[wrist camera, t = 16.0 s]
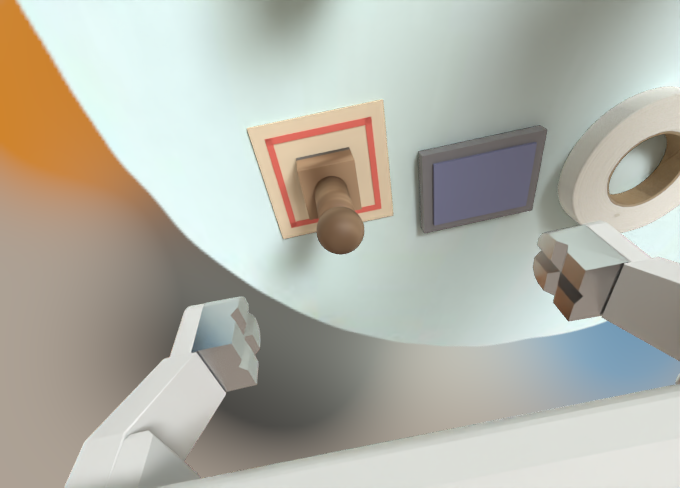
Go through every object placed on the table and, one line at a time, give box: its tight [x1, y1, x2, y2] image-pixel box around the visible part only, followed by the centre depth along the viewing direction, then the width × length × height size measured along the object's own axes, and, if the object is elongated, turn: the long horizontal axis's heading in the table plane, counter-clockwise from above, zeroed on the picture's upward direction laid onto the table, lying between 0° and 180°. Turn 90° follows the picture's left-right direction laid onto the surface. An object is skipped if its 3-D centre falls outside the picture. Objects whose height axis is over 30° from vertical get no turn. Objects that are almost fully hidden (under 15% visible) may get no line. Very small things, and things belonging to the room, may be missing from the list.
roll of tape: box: [558, 86, 680, 233], centre depth 37 cm, size 16×15×3 cm
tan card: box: [247, 99, 393, 239], centre depth 34 cm, size 12×12×1 cm
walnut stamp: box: [296, 147, 364, 254], centre depth 30 cm, size 5×5×11 cm
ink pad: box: [418, 125, 547, 233], centre depth 36 cm, size 12×9×2 cm
